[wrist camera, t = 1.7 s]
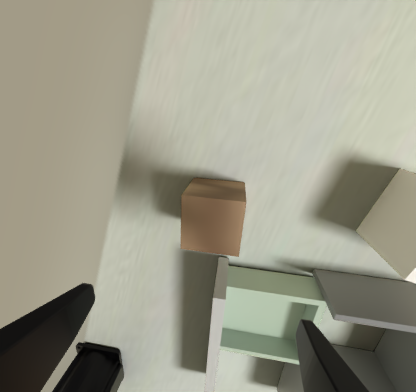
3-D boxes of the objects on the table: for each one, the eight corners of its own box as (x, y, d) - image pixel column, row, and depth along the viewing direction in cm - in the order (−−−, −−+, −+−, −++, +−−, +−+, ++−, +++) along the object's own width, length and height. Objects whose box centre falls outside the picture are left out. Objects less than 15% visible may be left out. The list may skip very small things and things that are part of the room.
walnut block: (192, 221, 20) (180, 248, 16) (194, 177, 19) (181, 195, 15) (238, 227, 20) (238, 256, 16) (244, 182, 18) (246, 202, 14)
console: (276, 387, 28) (285, 446, 23) (314, 268, 20) (337, 317, 15) (351, 402, 27) (376, 467, 22) (418, 283, 19) (480, 340, 14)
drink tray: (207, 375, 28) (200, 427, 24) (218, 256, 21) (212, 297, 16) (280, 390, 27) (288, 447, 23) (319, 270, 20) (343, 318, 15)
